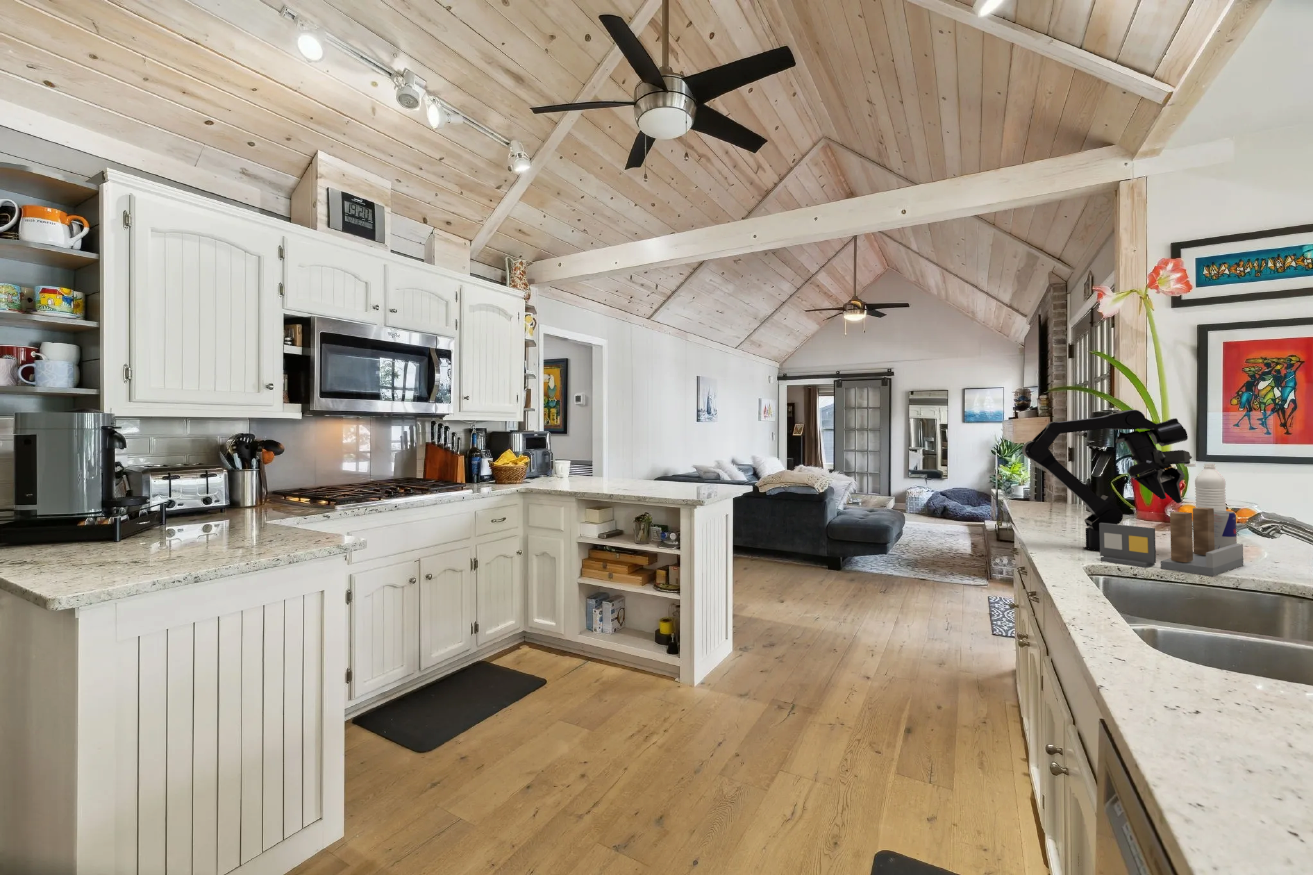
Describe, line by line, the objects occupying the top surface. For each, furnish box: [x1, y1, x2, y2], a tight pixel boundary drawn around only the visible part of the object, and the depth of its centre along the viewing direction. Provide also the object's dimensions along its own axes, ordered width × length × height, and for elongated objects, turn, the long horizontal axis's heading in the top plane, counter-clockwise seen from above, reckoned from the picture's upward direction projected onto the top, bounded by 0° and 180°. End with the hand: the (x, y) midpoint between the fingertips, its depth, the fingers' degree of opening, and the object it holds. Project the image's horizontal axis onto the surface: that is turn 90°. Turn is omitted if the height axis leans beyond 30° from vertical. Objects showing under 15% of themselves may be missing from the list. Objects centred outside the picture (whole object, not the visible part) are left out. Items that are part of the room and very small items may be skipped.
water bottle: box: [1184, 462, 1227, 511], centre depth 170 cm, size 9×6×25 cm
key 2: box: [1192, 507, 1215, 555], centre depth 153 cm, size 3×4×12 cm
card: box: [1099, 523, 1157, 569], centre depth 154 cm, size 12×5×10 cm, turn 30°
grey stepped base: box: [1160, 543, 1244, 577], centre depth 148 cm, size 10×20×6 cm, turn 120°
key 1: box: [1169, 511, 1194, 563], centre depth 146 cm, size 3×4×12 cm
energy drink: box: [1214, 510, 1238, 550], centre depth 161 cm, size 5×5×12 cm
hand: (1171, 500), depth 159 cm, fingers open, 9 cm apart
